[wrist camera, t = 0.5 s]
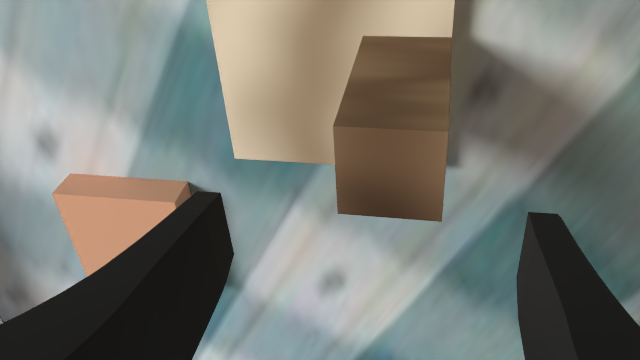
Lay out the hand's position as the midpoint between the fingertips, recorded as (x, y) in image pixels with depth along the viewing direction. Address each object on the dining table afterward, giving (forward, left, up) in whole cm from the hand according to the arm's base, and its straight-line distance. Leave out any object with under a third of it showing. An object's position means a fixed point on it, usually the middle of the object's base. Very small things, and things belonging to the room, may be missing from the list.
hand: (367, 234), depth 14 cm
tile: (-9, +13, -10) cm, 18 cm away
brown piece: (0, +2, -10) cm, 10 cm away
